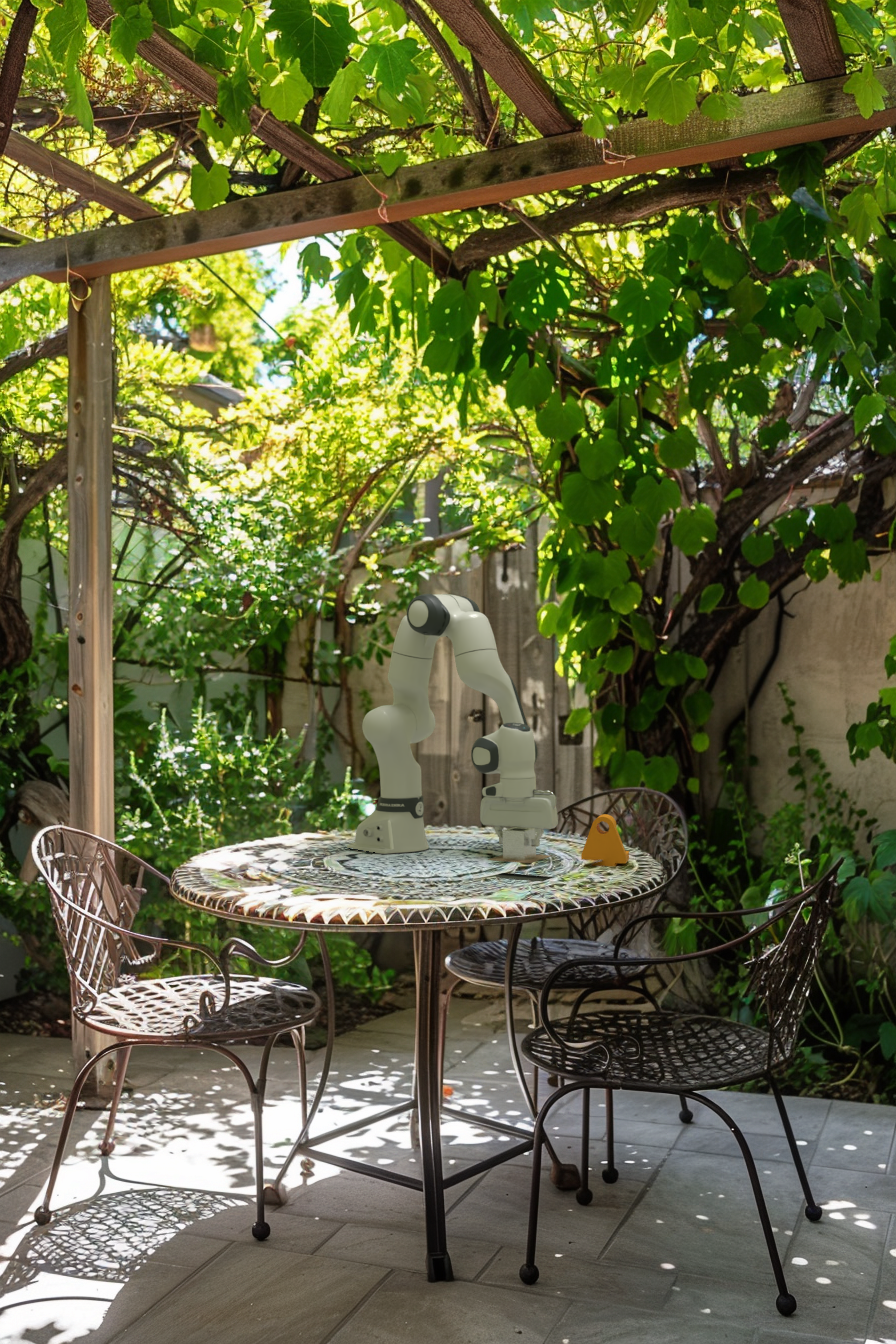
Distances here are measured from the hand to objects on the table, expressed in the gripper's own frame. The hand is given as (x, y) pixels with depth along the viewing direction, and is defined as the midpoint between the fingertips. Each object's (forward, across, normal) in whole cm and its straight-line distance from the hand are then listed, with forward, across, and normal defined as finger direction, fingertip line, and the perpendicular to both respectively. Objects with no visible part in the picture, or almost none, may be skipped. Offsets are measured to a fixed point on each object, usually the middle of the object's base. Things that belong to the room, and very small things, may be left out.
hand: (519, 845), depth 306 cm
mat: (+5, -10, +13) cm, 17 cm away
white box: (+3, 0, 0) cm, 3 cm away
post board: (+5, 0, 0) cm, 5 cm away
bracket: (+5, -19, -9) cm, 22 cm away
